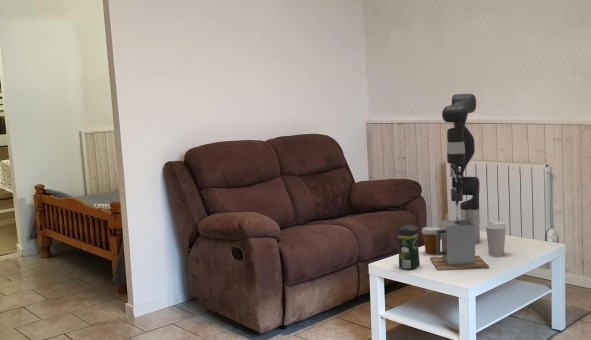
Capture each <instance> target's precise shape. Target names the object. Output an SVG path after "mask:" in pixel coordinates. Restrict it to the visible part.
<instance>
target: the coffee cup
mask: <svg viewBox="0 0 591 340" xmlns="http://www.w3.org/2000/svg"><path fill="white" fill-rule="evenodd" d="M484 228H485V230H486V231H485V232H486V239H487V241H486V242H487V247H488V248H487V249H488V255H489V256H490V257H503V256H504V255H505V241H506V229H507V228H508V227H507V224H506V223H505V222H504V221H499V220H489V221H487V222H486V223H485V226H484Z"/></svg>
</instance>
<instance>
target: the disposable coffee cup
mask: <svg viewBox="0 0 591 340" xmlns="http://www.w3.org/2000/svg"><path fill="white" fill-rule="evenodd" d="M421 229H422V230H421V233H422V237H423V243H424V250H425V251H424V252H425V254H426V255H429V256H434V255H436V256H437V233H436V230H441V227H439V226H425V227H422V228H421ZM440 242H442V233H440Z"/></svg>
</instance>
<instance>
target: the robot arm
mask: <svg viewBox="0 0 591 340" xmlns="http://www.w3.org/2000/svg"><path fill="white" fill-rule="evenodd" d="M476 109H477V98H476V96H475V94H473V93H459V94H453V95H452V97H451V105H447V106H445V107H444V108H443V110H442V113H441V115H442V116H441V117H442V120H443V121H444V122H446V123H453V127H451V128H447V131H446V137H447V138H446V143H447V145H446V160H447V161H446V162H447V164H448V165H449V164H450V165H449V166H450V167H449V168H450V171H449V173H450V174H449V176H450V178H451V189H452V188H456V190H457V191H461V190H462V189H463V196H472V197H471V198H470V199H468V200H465V201H461V202H460V203H459V219H460V220H466V219H469V220H470V221H471V222H472V223H473V224H475V245H478V244H480V243H481V225H480V222H481V220H480V214H481V213H480V179H479V177H478V176H464V172H465V170H466V169H467V166H468V164H469V163H470V161H471V160H472V158H473V156H474V155H475V151H476V147H475V138H474V136H473V134H472V133H471V131H470V130H469V128H468V127H467V126H466V122H467V119H468V114H473V113H474V112H475V111H476Z"/></svg>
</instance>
